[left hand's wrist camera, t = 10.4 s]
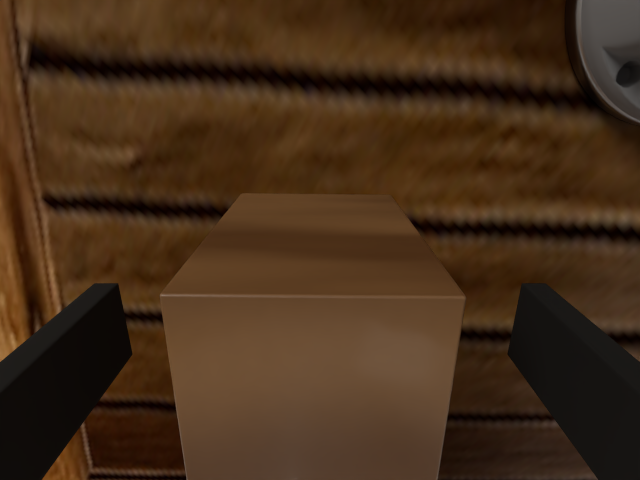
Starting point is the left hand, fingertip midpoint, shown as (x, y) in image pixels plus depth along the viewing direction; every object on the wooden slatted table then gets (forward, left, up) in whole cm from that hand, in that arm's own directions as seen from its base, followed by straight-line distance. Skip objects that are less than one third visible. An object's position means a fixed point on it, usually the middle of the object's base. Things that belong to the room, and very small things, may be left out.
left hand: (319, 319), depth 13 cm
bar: (0, +9, -3) cm, 10 cm away
